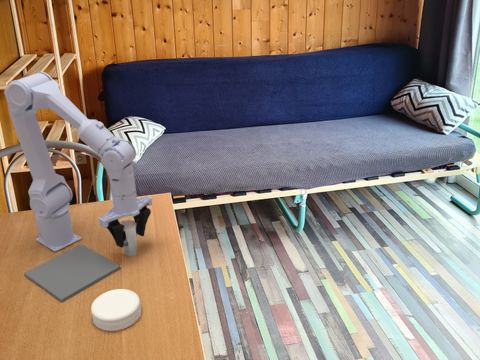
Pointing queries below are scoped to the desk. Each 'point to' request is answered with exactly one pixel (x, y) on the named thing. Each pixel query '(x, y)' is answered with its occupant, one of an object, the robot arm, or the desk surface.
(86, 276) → the mat
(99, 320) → the white round tin
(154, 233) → the desk surface
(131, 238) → the milkshake
